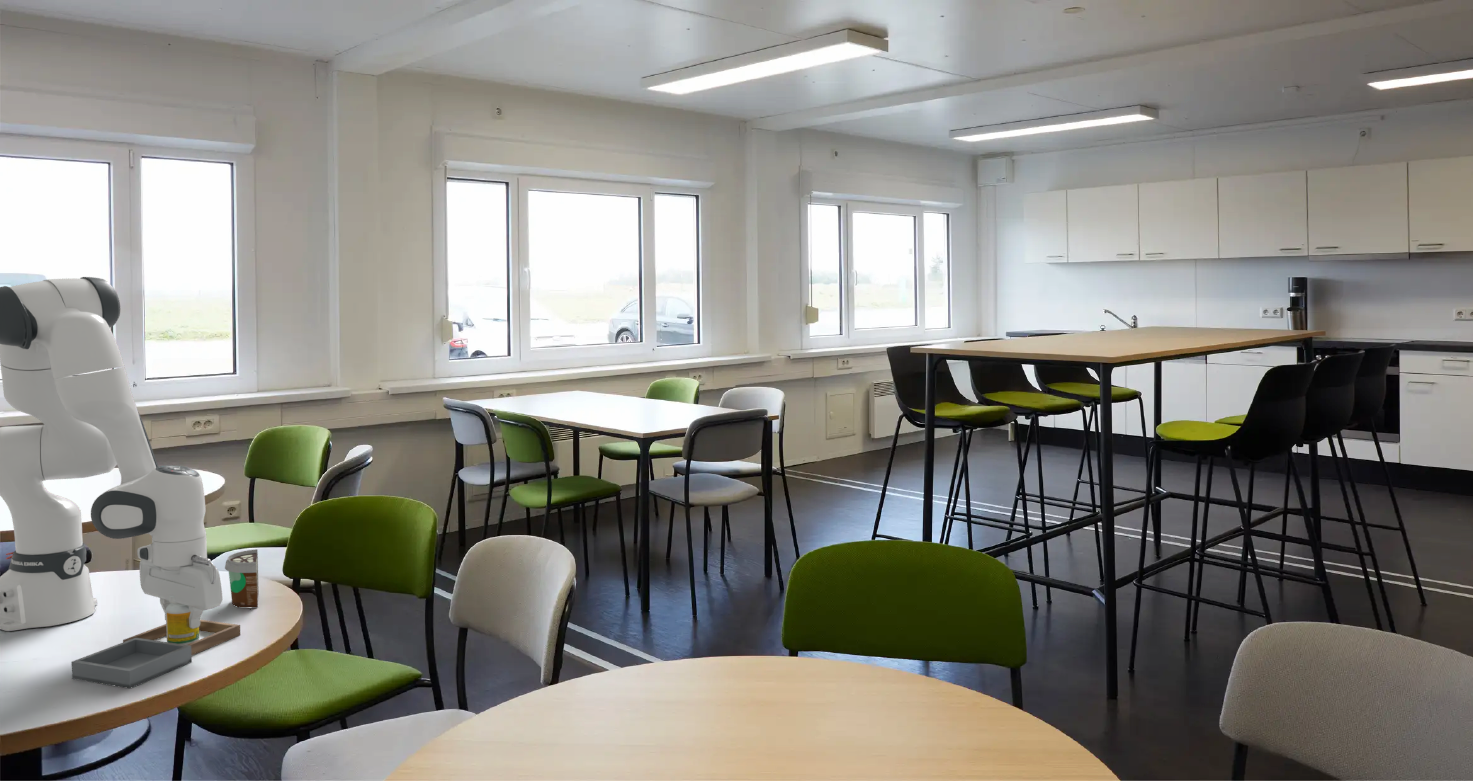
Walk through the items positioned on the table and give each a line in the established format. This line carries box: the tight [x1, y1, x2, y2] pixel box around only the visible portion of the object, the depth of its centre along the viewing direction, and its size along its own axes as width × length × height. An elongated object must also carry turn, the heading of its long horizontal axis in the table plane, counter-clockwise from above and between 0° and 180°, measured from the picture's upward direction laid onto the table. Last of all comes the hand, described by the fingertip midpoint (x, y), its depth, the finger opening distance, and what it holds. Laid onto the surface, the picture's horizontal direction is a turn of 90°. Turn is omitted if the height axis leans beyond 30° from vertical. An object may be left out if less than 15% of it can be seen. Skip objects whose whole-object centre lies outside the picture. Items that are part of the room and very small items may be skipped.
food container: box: [224, 548, 260, 608], centre depth 208 cm, size 12×6×10 cm, turn 25°
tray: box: [71, 638, 193, 689], centre depth 171 cm, size 13×13×3 cm
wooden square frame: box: [122, 619, 241, 656], centre depth 185 cm, size 14×14×2 cm
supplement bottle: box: [165, 595, 200, 645], centre depth 184 cm, size 5×5×10 cm
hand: (182, 624), depth 184 cm, fingers closed on supplement bottle, 5 cm apart
